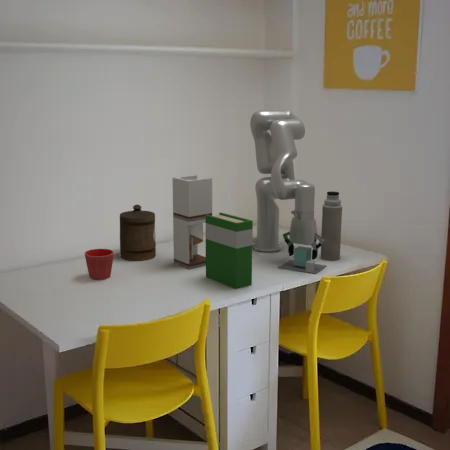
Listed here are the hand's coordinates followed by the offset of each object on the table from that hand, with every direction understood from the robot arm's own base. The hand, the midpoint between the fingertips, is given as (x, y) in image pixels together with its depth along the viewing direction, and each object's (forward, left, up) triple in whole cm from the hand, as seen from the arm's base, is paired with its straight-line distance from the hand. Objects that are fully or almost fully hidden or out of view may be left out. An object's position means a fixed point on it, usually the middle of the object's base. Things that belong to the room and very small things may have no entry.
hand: (302, 257), depth 249 cm
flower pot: (-61, -50, -4) cm, 79 cm away
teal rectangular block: (0, 0, -3) cm, 3 cm away
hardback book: (-17, -30, -4) cm, 35 cm away
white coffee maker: (-40, -18, -4) cm, 44 cm away
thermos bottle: (+5, +18, -4) cm, 19 cm away
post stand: (0, 0, -4) cm, 4 cm away
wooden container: (-66, -20, -4) cm, 69 cm away
